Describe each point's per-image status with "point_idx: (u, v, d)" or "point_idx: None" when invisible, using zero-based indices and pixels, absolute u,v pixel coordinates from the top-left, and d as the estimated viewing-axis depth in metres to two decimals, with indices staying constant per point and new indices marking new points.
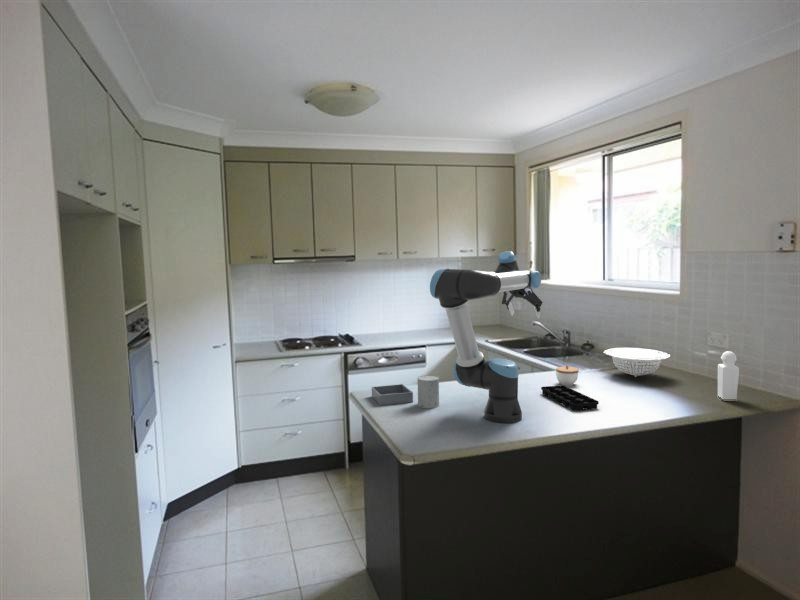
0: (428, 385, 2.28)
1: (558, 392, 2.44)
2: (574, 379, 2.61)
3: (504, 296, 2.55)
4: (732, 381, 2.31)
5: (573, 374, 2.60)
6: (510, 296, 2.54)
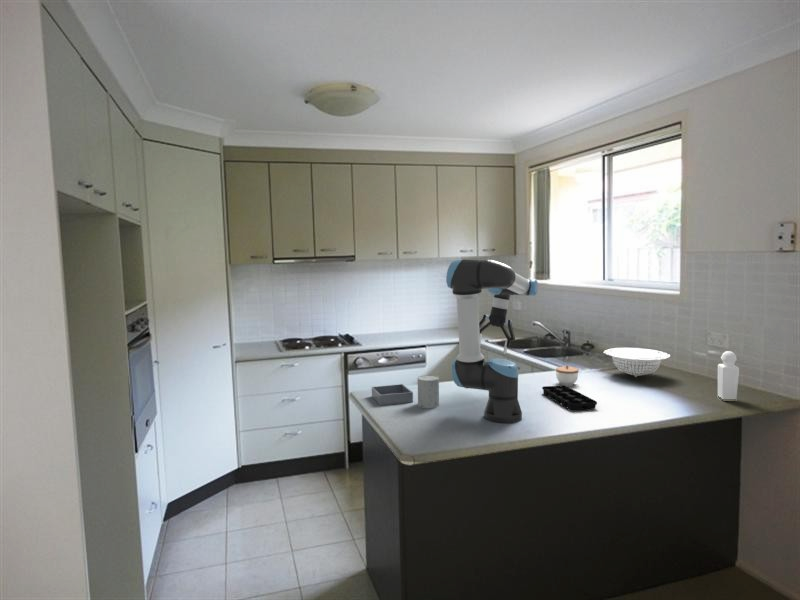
0: (428, 385, 2.28)
1: (559, 392, 2.44)
2: (574, 379, 2.61)
3: (481, 322, 2.58)
4: (732, 381, 2.31)
5: (573, 374, 2.60)
6: (487, 323, 2.58)
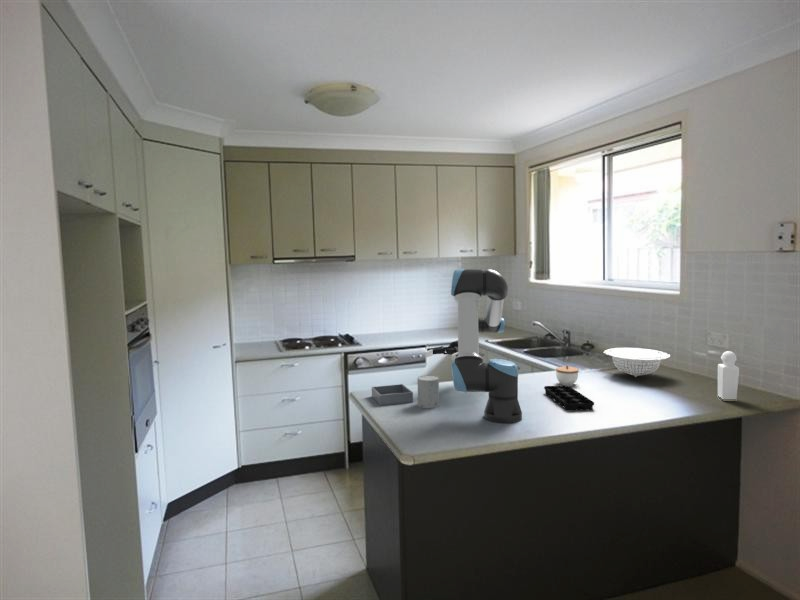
0: (428, 385, 2.28)
1: (560, 392, 2.44)
2: (574, 379, 2.61)
3: (437, 347, 2.54)
4: (732, 381, 2.31)
5: (573, 374, 2.60)
6: None
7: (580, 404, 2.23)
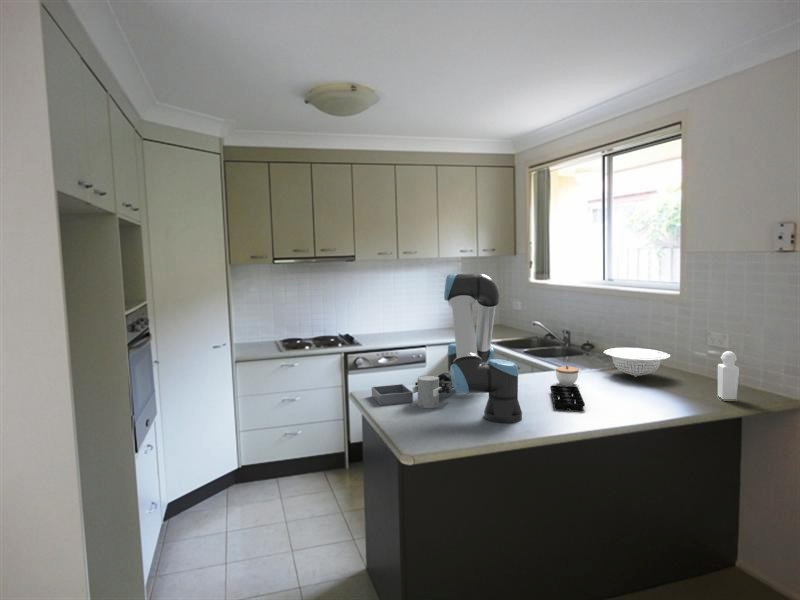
0: (428, 385, 2.28)
1: (563, 392, 2.44)
2: (574, 379, 2.61)
3: None
4: (732, 381, 2.31)
5: (573, 374, 2.60)
6: None
7: (568, 404, 2.23)
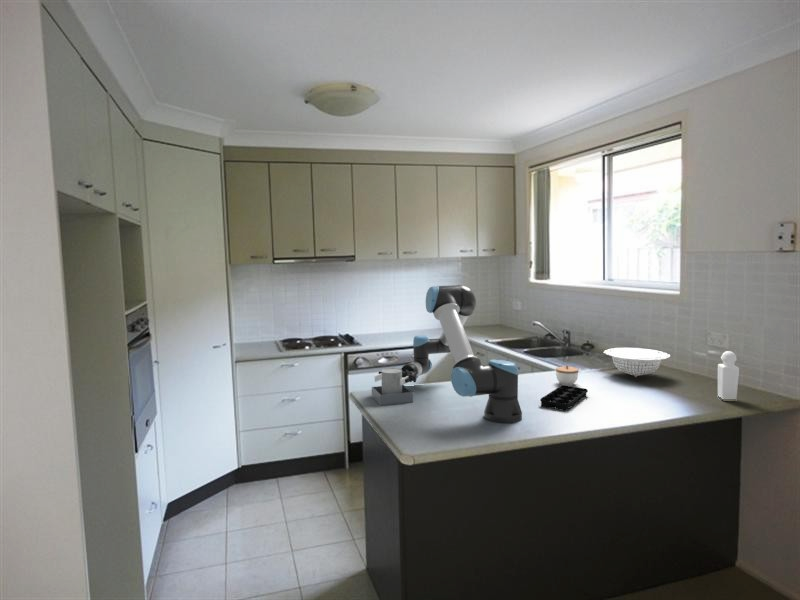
0: (390, 377, 2.38)
1: None
2: (574, 379, 2.61)
3: None
4: (732, 381, 2.31)
5: (573, 374, 2.60)
6: None
7: (552, 402, 2.26)
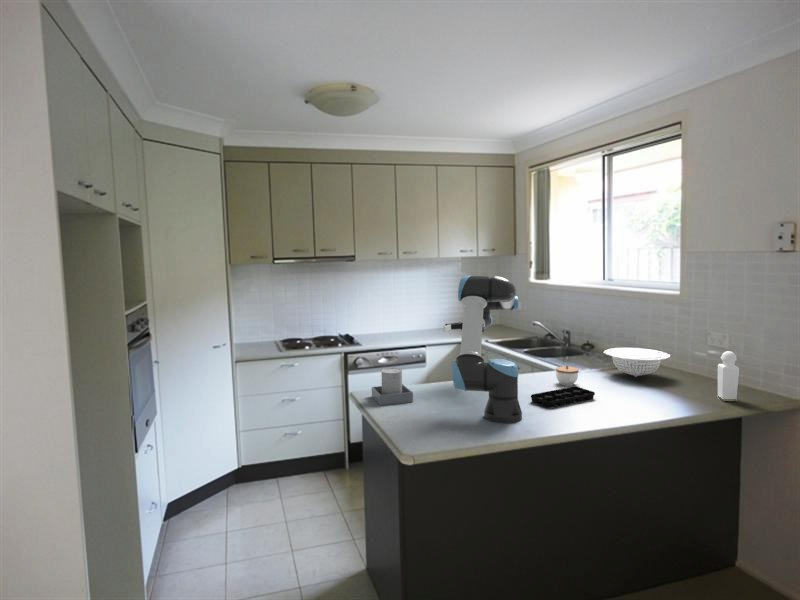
0: (390, 377, 2.38)
1: None
2: (574, 379, 2.61)
3: (454, 323, 2.65)
4: (732, 381, 2.31)
5: (573, 374, 2.60)
6: None
7: (538, 399, 2.31)
